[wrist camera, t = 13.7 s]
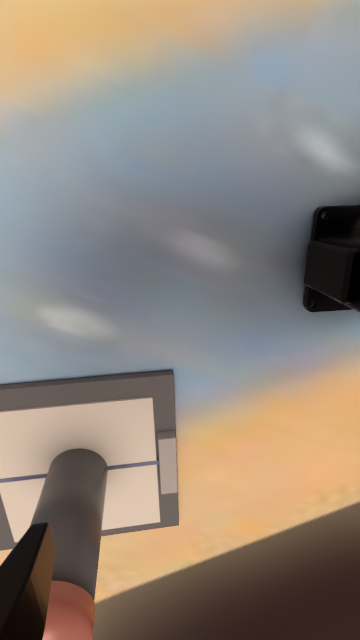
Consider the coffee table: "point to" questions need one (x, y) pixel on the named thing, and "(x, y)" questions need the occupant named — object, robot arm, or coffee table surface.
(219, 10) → the coffee table surface
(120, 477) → the grey framed board
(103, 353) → the coffee table surface
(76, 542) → the ball
